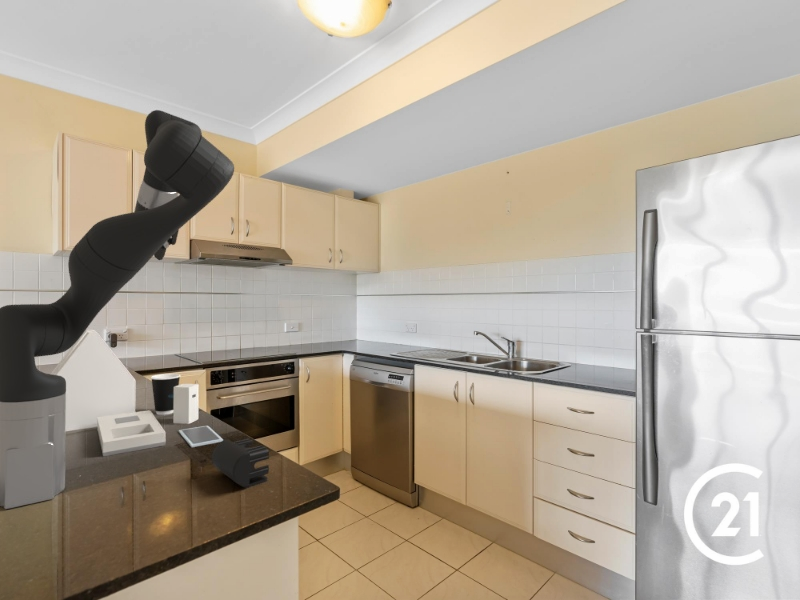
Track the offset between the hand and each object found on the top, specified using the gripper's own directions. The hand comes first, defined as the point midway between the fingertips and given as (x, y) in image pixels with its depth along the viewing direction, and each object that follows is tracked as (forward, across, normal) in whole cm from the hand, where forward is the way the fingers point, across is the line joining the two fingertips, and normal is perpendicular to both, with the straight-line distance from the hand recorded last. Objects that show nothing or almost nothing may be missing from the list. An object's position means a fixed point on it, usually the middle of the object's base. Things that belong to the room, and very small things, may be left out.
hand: (142, 261), depth 102 cm
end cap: (+11, -17, -55) cm, 58 cm away
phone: (+30, -3, -35) cm, 46 cm away
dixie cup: (+48, +8, -14) cm, 50 cm away
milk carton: (+51, -6, -3) cm, 52 cm away
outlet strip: (+37, -10, -21) cm, 44 cm away
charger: (+39, +4, -24) cm, 46 cm away
